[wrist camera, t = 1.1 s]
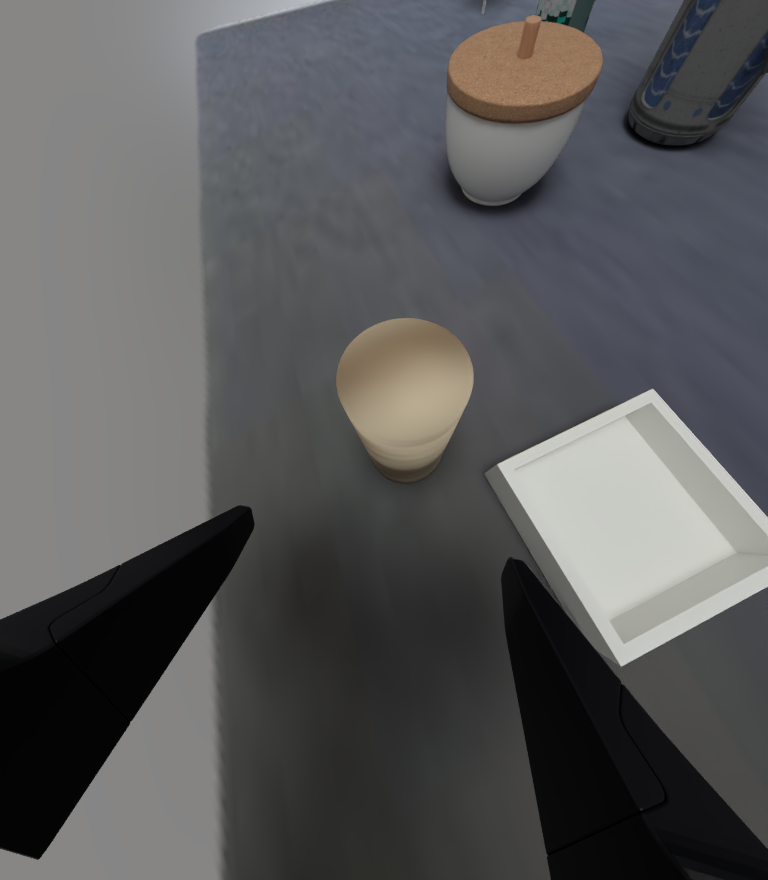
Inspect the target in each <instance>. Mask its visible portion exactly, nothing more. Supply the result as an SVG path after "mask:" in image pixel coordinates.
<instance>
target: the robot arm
mask: <svg viewBox="0 0 768 880" xmlns="http://www.w3.org/2000/svg"><path fill="white" fill-rule="evenodd" d="M253 529H254V519H253V514H252V510H251V508H250V507H247V506H241V505H239V506H236V507H234V508H232V509H230V510H228V511H226V512H224V513H222V514H220V515H218V516H216V517H214V518H212V519H210V520H208V521H206V522H204V523H202V524H200V525H198V526H196V527H194V528H192V529H190V530H188V531H186V532H184V533H182V534H180V535H178V536H176V537H174V538H172V539H171V540H168V541H166V542H164V543H162V544H160V545H158V546H156V547H154V548H152V549H150V550H148V551H146V552H144V553H142V554H140V555H139V556H136V557H134V558H132V559H130V560H129V561H126V562H124V563H122V565H118V566H116V567H114V568H112V569H110V570H108V571H106V572H104V573H102V574H100V575H98V576H96V577H94V578H92V579H90V580H88V581H86V582H83V583H81V584H79V585H77V586H75V587H73V588H70V589H68V590H66V591H64V592H62V593H59V594H57V595H55V596H53V597H51V598H48V599H46V600H44V601H41V602H39V603H37V604H35V605H32V606H30V607H28V608H25V609H23V610H21V611H19V612H16V613H14V614H12V615H10V616H7V617H5V618H3V619H1V620H0V849H3V850H6V851H10V852H13V853H16V854H20V855H23V856H27V857H30V858H34V859H37V860H38V859H40V857H41V856H42V855H43V853H44V852H45V851H46V849H47V848H48V847H49V845H50V844H51V842H52V841H53V839H54V838H55V836H56V835H57V833H58V832H59V830H60V829H61V827H62V826H63V824H64V823H65V821H66V820H67V818H68V817H69V815H70V813H71V812H72V811H73V809H74V808H75V806H76V804H77V803H78V802H79V800H80V798H81V797H82V795H83V794H84V792H85V791H86V789H87V788H88V786H89V784H90V783H91V782H92V780H93V779H94V777H95V776H96V774H97V773H98V771H99V770H100V768H101V767H102V765H103V764H104V762H105V761H106V759H107V758H108V756H109V755H110V753H111V752H112V750H113V749H114V747H115V746H116V744H117V743H118V741H119V740H120V738H121V737H122V735H123V734H124V732H125V731H126V729H127V727H128V726H129V724H130V722H131V721H132V720H133V718H134V717H135V715H136V714H137V712H138V711H139V709H140V708H141V706H142V704H143V703H144V701H145V700H146V699H147V697H148V696H149V694H150V693H151V691H152V690H153V688H154V686H155V685H156V683H157V682H158V680H159V679H160V677H161V676H162V674H163V673H164V671H165V670H166V668H167V667H168V665H169V664H170V662H171V661H172V659H173V658H174V656H175V655H176V653H177V652H178V650H179V649H180V647H181V646H182V644H183V643H184V641H185V640H186V638H187V637H188V635H189V633H190V632H191V631H192V629H193V628H194V626H195V625H196V623H197V622H198V620H199V619H200V617H201V615H202V614H203V612H204V611H205V610H206V608H207V606H208V605H209V603H210V602H211V600H212V599H213V597H214V596H215V594H216V593H217V591H218V590H219V588H220V587H221V585H222V584H223V582H224V581H225V579H226V578H227V576H228V575H229V573H230V572H231V570H232V568H233V567H234V565H235V563H236V561H237V559H238V557H239V556H240V554H241V552H242V550H243V548H244V546H245V544H246V542H247V541H248V539H249V537H250V535H251V533H252V531H253ZM501 584H502V597H503V610H504V622H505V632H506V638H507V644H508V649H509V654H510V660H511V665H512V671H513V676H514V681H515V687H516V692H517V698H518V703H519V708H520V714H521V719H522V724H523V730H524V735H525V741H526V746H527V751H528V757H529V762H530V768H531V773H532V778H533V784H534V789H535V794H536V800H537V805H538V811H539V816H540V821H541V827H542V832H543V838H544V843H545V848H546V853H547V855H548V856H547V860H548V866H549V871H550V876H551V880H768V849H767V848H766V847H765V846H764V845H763V843H762V842H761V841H760V840H759V839H758V838H757V837H756V836H755V835H754V833H753V832H752V831H751V830H750V829H749V828H748V827H747V826H746V825H745V823H744V822H743V821H742V820H741V819H740V818H739V817H738V816H737V815H736V813H735V812H734V811H733V810H732V809H731V808H730V807H729V806H728V805H727V803H726V802H725V801H724V800H723V799H722V798H721V797H720V796H719V794H718V793H717V792H716V791H715V790H714V789H713V788H712V787H711V786H710V784H709V783H708V782H707V781H706V780H705V779H704V778H703V777H702V776H701V774H700V773H699V772H698V771H697V770H696V769H695V768H694V767H693V766H692V764H691V763H690V762H689V761H688V760H687V759H686V758H685V757H684V755H683V754H682V753H681V752H680V751H679V750H678V749H677V747H676V746H675V745H674V744H673V743H672V742H671V741H670V739H669V738H668V737H667V736H666V735H665V734H664V733H663V731H662V730H661V729H660V728H659V727H658V725H657V724H656V723H655V722H654V721H653V719H652V718H651V717H650V716H649V715H648V713H647V712H646V711H645V710H644V709H643V707H642V706H641V705H640V704H639V703H638V701H637V700H636V699H635V698H634V696H633V695H632V694H631V693H630V691H629V690H628V689H627V688H626V686H625V685H624V684H621V681H620V679H619V678H618V677H617V675H616V674H615V673H614V672H613V671H612V669H611V668H610V667H609V666H608V664H607V663H606V662H605V661H604V659H603V658H602V657H601V656H600V654H599V653H598V652H597V651H596V649H595V648H594V647H593V646H592V644H591V643H590V642H589V641H588V639H587V638H586V637H585V636H584V635H583V633H582V632H581V631H580V630H579V628H578V627H577V626H576V625H575V623H574V622H573V621H572V620H571V618H570V617H569V616H568V615H567V613H566V612H565V611H564V610H563V608H562V607H561V606H560V605H559V603H558V602H557V601H556V600H555V599H554V597H553V596H552V595H551V594H550V592H549V591H548V590H547V589H546V587H545V586H544V585H543V584H542V582H541V581H540V580H539V579H538V577H537V576H536V575H535V574H534V572H533V571H532V570H531V569H530V567H529V566H528V565H527V564H526V563H525V561H523V560H522V559H518V558H512V557H510V558H509V559H508V560H507V562H506V565H505V567H504V570H503V572H502V576H501Z"/></svg>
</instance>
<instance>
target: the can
mask: <svg viewBox="0 0 768 880" xmlns="http://www.w3.org/2000/svg"><path fill="white" fill-rule="evenodd" d="M594 2H595V0H539V4H538V8H537V12H536V16H540V17H541V18H542V20H541V21H544V22H553V23H559V24H562V25H566V26H569V27H572V28H575V29H577V30H579V31H581V32H583V33H584V30H585V27H586V24H587V21H588V19H589V16H590V13H591V10H592V7H593V5H594Z"/></svg>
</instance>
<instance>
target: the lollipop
mask: <svg viewBox="0 0 768 880" xmlns="http://www.w3.org/2000/svg"><path fill="white" fill-rule="evenodd" d="M486 1H487V0H483V7H482V15H484V14H485V7H486Z"/></svg>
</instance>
